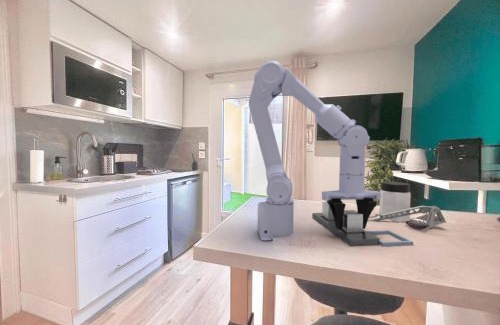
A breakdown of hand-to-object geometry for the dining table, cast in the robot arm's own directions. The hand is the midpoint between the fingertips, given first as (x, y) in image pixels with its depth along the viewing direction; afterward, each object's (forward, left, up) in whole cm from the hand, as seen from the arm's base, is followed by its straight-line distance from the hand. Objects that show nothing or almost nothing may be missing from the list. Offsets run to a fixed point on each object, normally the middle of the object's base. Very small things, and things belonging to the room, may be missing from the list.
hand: (350, 227), depth 56 cm
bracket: (+21, +9, -3) cm, 23 cm away
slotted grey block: (0, +10, -2) cm, 10 cm away
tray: (+8, -3, -3) cm, 9 cm away
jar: (+25, +16, -3) cm, 30 cm away
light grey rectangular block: (0, 0, -2) cm, 2 cm away
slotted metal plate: (0, +5, -3) cm, 6 cm away
